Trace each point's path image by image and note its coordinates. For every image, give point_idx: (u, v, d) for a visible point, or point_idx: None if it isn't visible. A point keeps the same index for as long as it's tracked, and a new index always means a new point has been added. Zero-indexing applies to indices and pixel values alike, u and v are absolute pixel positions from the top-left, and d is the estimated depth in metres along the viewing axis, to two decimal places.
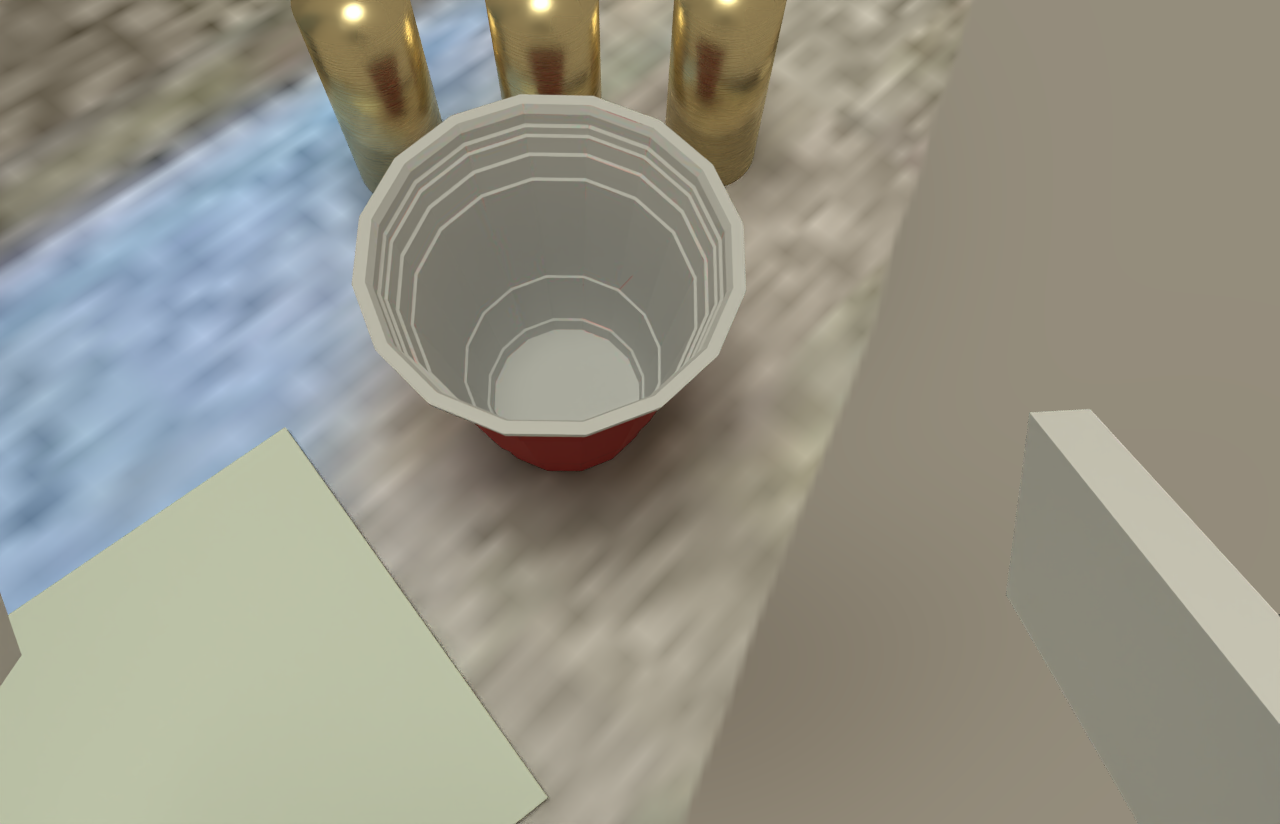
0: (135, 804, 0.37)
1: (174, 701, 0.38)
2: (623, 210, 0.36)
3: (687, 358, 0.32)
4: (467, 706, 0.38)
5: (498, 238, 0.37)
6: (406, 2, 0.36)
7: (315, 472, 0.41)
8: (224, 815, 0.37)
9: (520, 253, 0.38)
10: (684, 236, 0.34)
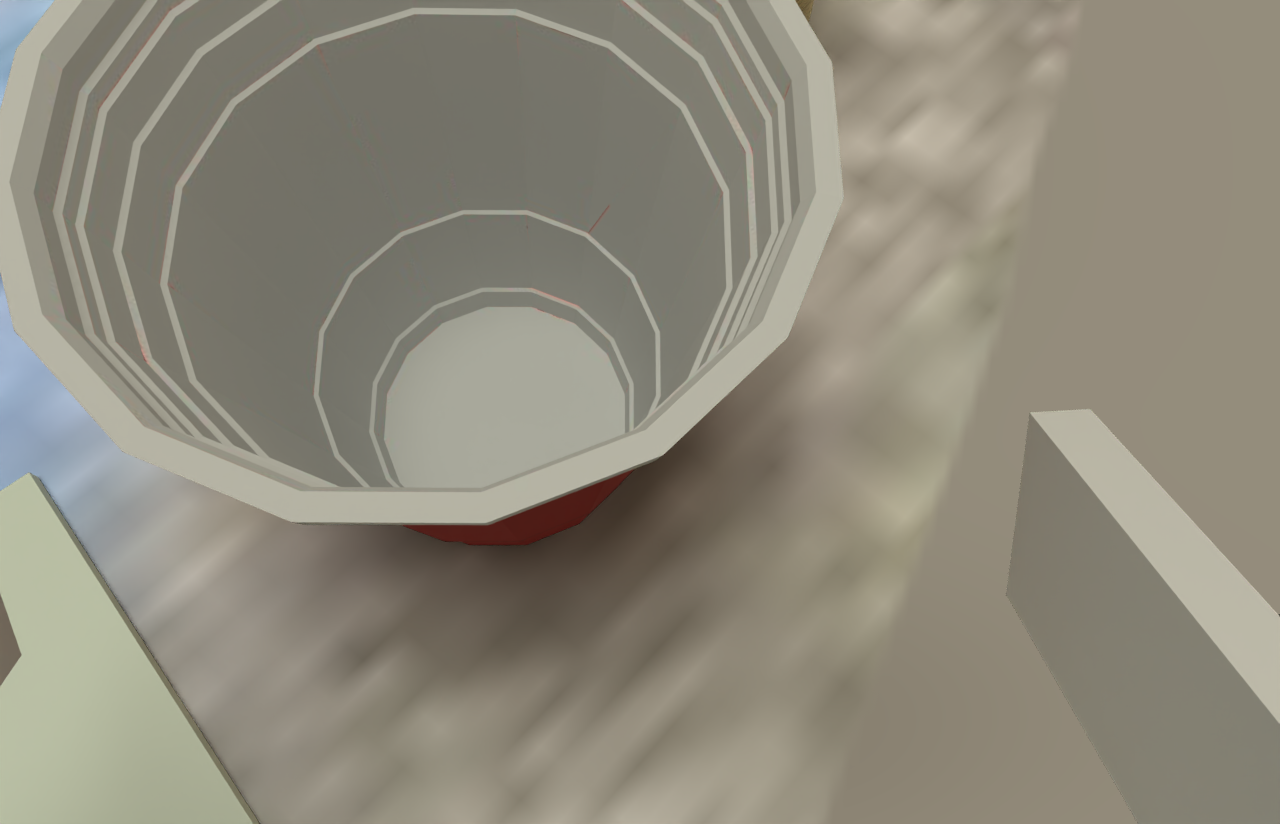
0: None
1: None
2: (588, 73, 0.19)
3: (715, 346, 0.16)
4: None
5: (363, 134, 0.20)
6: None
7: (75, 549, 0.24)
8: None
9: (410, 166, 0.22)
10: (705, 110, 0.18)
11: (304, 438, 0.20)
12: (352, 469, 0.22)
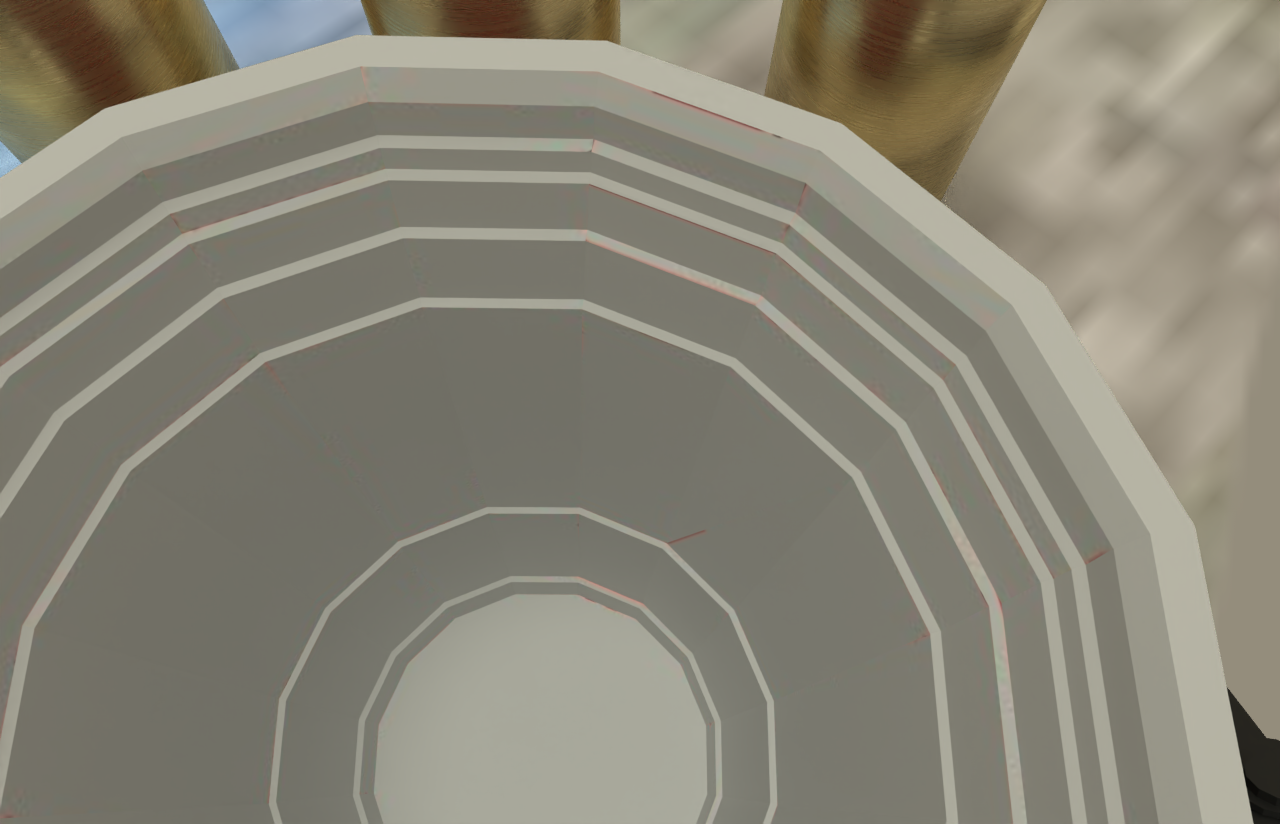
0: None
1: None
2: (694, 389, 0.12)
3: None
4: None
5: (342, 452, 0.13)
6: None
7: None
8: None
9: (412, 475, 0.15)
10: (904, 501, 0.11)
11: None
12: None
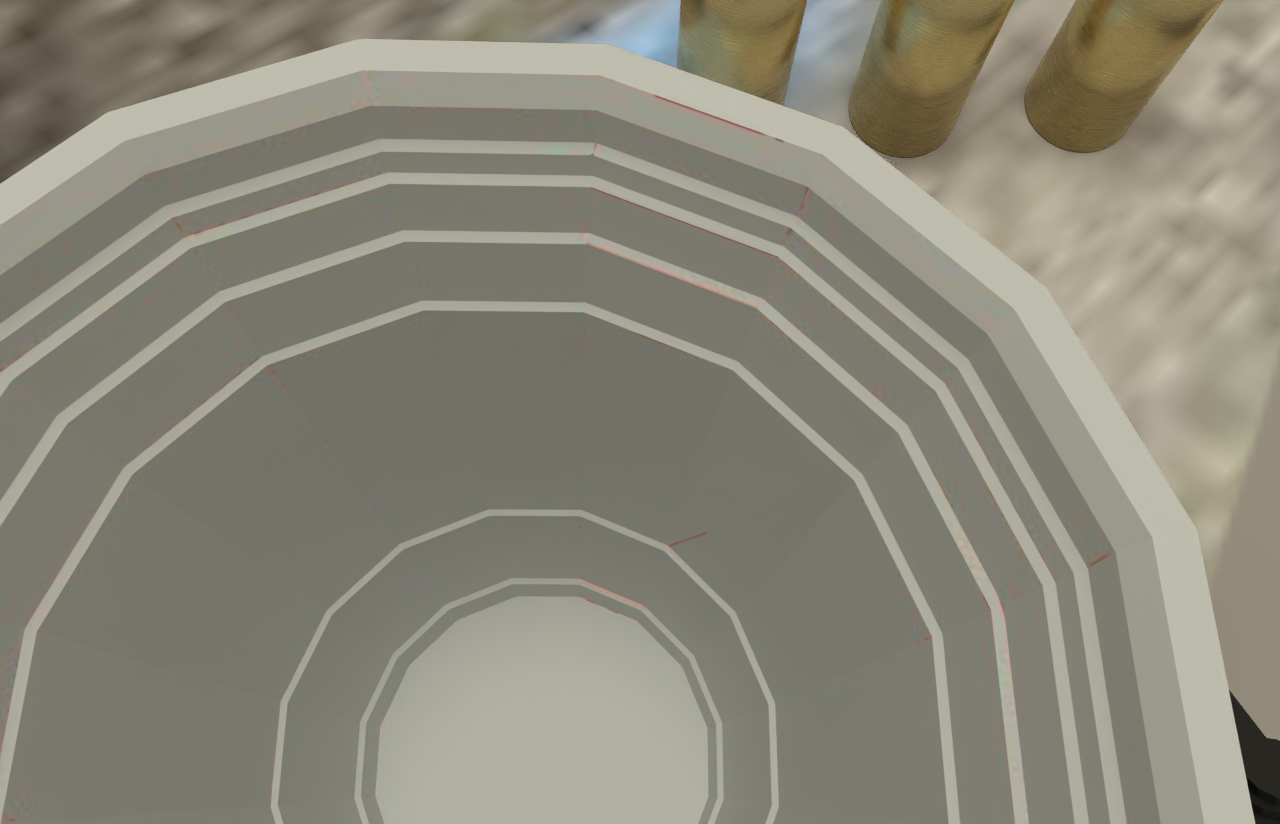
0: None
1: None
2: (695, 392, 0.12)
3: None
4: None
5: (344, 454, 0.13)
6: None
7: None
8: None
9: (414, 477, 0.15)
10: (905, 505, 0.11)
11: None
12: None
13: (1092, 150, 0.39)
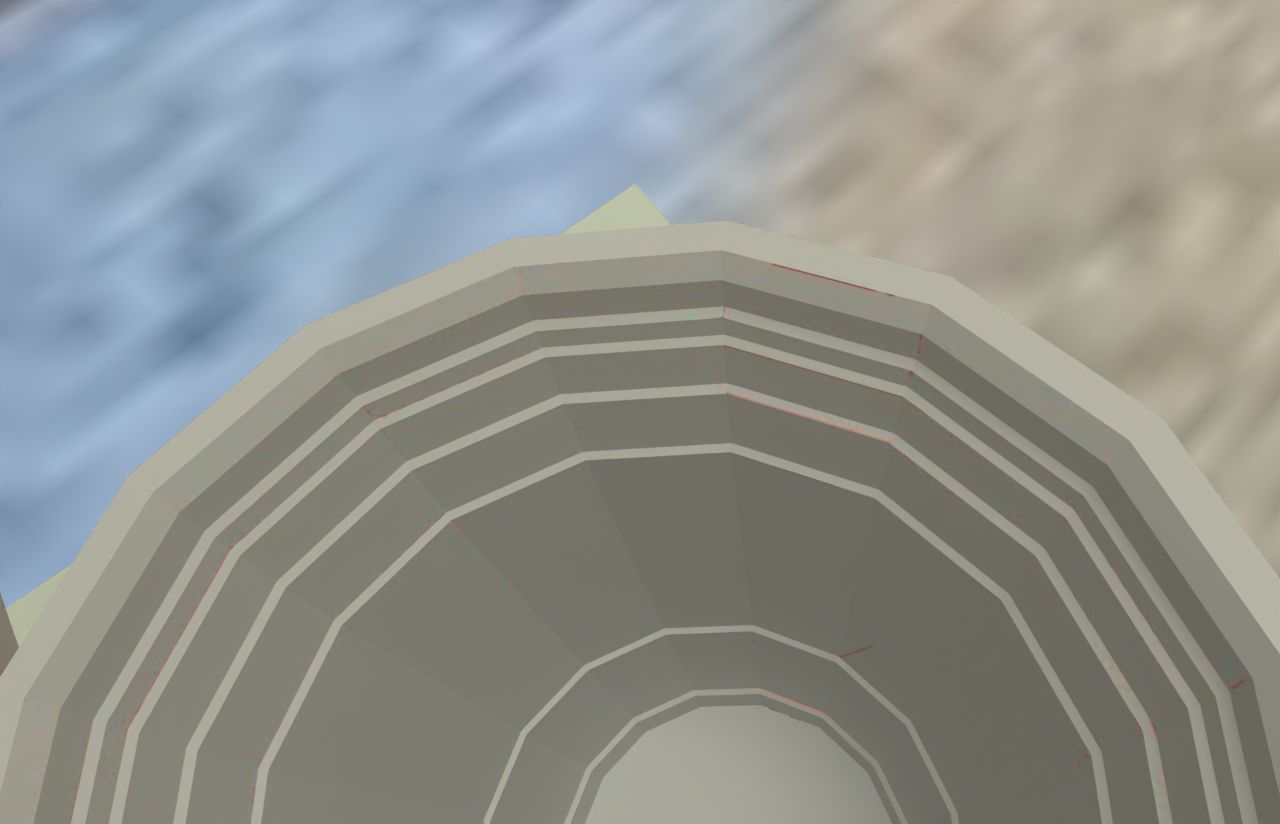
0: None
1: None
2: (843, 518, 0.13)
3: None
4: None
5: (525, 590, 0.15)
6: None
7: None
8: None
9: (591, 605, 0.16)
10: (1051, 625, 0.11)
11: None
12: None
13: None
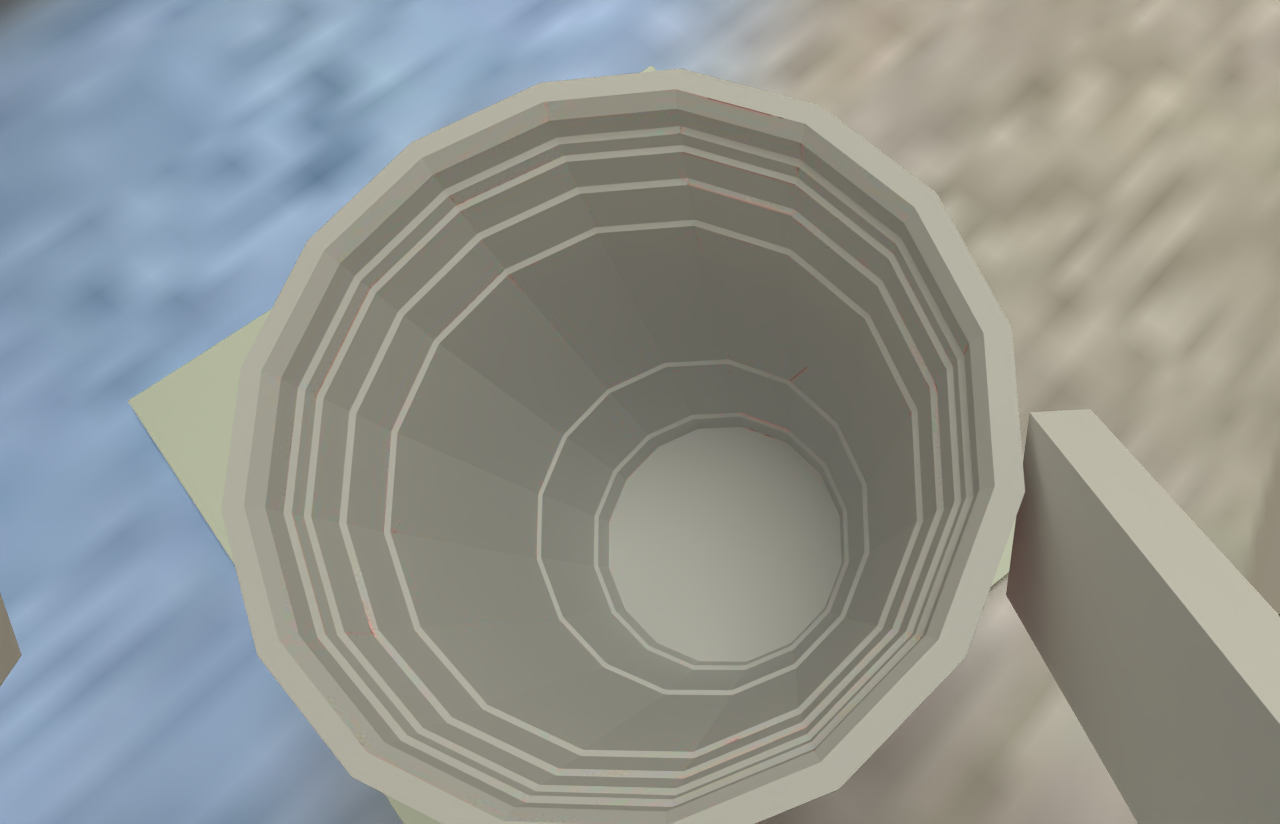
0: None
1: None
2: (772, 271, 0.19)
3: (901, 612, 0.15)
4: None
5: (561, 328, 0.21)
6: None
7: None
8: None
9: (609, 341, 0.22)
10: (889, 331, 0.17)
11: (527, 619, 0.22)
12: (575, 631, 0.23)
13: None
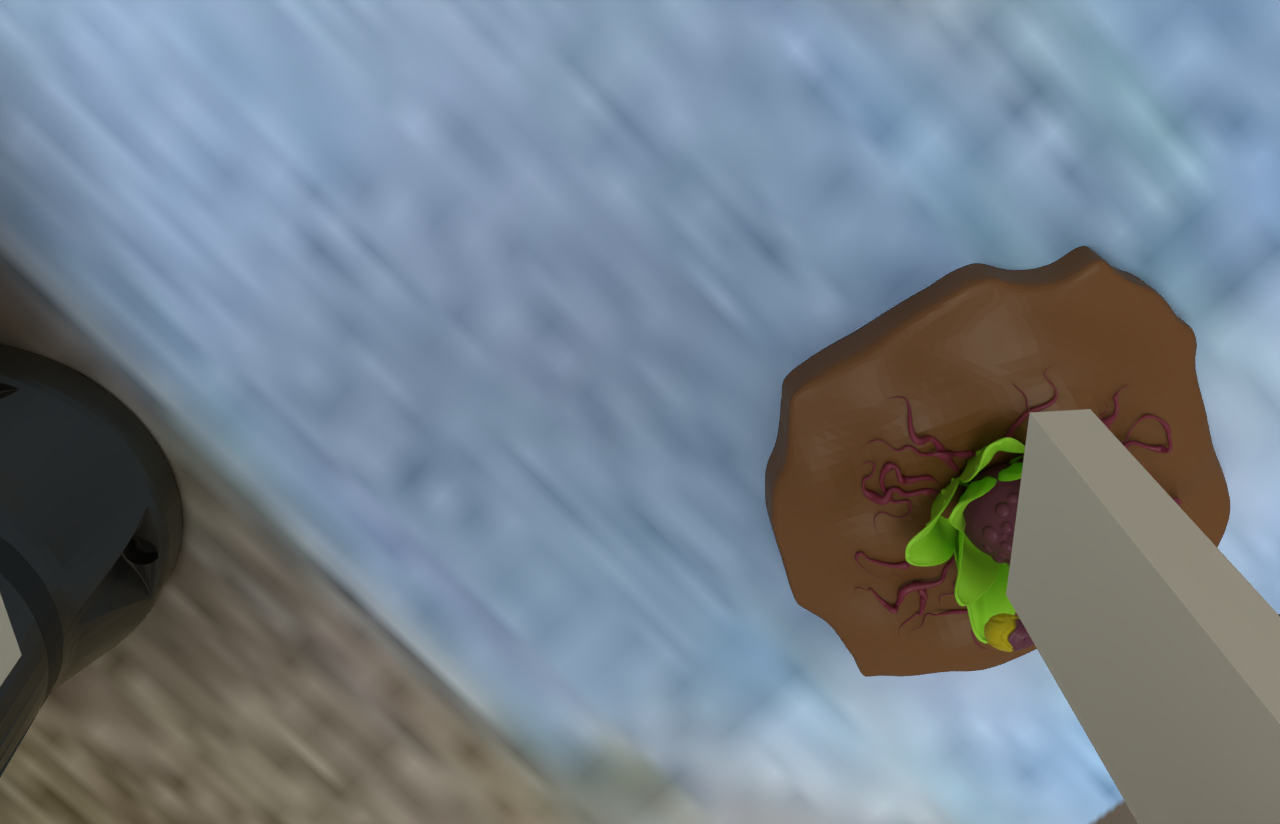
0: None
1: None
2: None
3: None
4: None
5: None
6: None
7: None
8: None
9: None
10: None
11: None
12: None
13: None
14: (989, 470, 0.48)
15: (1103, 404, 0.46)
